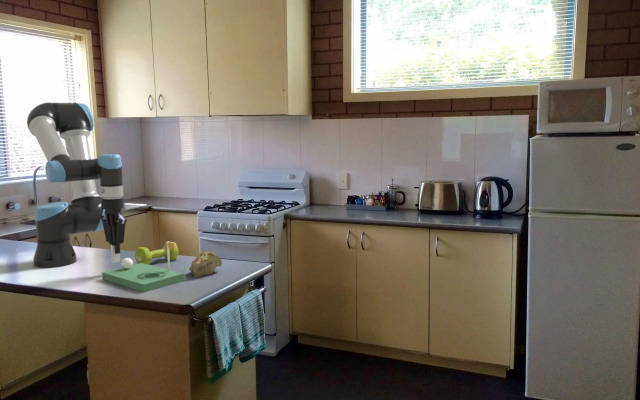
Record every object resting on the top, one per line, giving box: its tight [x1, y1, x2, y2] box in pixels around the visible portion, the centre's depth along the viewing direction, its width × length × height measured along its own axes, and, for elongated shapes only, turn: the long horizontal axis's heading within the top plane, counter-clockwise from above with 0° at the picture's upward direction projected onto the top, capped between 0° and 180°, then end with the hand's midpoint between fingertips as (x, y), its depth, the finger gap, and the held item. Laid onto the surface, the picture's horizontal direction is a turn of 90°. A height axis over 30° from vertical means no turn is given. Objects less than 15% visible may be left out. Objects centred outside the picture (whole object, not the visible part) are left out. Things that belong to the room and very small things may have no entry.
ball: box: [120, 257, 134, 269], centre depth 194 cm, size 4×4×4 cm
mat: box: [101, 263, 185, 293], centre depth 189 cm, size 24×16×2 cm, turn 53°
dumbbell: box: [134, 241, 180, 265], centre depth 213 cm, size 16×8×7 cm, turn 140°
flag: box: [166, 240, 174, 271], centre depth 191 cm, size 4×1×13 cm, turn 53°
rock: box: [188, 250, 223, 278], centre depth 198 cm, size 12×9×10 cm
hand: (116, 261), depth 198 cm, fingers closed
